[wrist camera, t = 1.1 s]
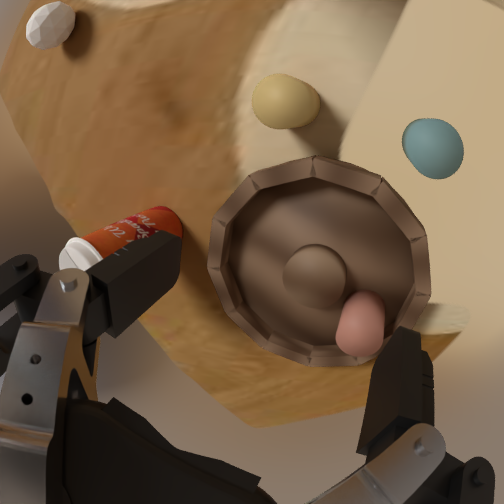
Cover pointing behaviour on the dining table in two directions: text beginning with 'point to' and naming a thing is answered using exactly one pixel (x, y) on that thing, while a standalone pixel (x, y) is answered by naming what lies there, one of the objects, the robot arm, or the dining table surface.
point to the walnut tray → (324, 221)
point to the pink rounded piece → (361, 324)
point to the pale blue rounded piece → (433, 147)
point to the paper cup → (118, 237)
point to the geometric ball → (50, 25)
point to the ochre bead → (285, 102)
